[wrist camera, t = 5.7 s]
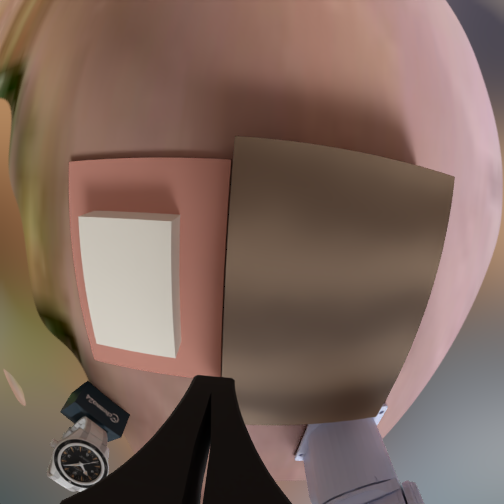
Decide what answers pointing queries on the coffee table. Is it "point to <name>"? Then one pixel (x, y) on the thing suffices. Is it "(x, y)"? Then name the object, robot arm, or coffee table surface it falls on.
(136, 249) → the tile
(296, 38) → the coffee table surface
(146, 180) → the mat
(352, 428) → the robot arm
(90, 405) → the watch
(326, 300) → the brown wooden block
